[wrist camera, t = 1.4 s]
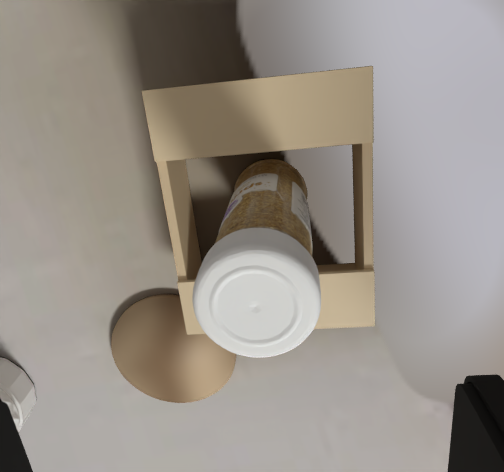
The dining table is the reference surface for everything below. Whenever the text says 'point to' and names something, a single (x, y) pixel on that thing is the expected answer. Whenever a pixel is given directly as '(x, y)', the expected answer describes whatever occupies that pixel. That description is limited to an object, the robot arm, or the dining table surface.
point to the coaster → (168, 352)
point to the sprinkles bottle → (261, 266)
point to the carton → (267, 140)
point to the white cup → (16, 392)
